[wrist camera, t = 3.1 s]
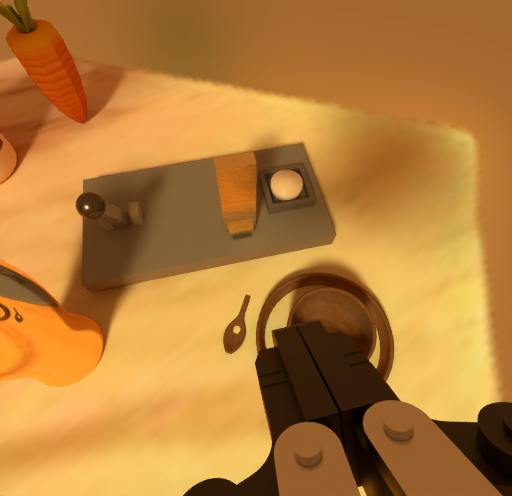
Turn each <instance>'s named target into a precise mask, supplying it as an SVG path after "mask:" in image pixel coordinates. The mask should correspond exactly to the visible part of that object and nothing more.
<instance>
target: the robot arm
mask: <svg viewBox="0 0 512 496" xmlns="http://www.w3.org/2000/svg"><path fill="white" fill-rule="evenodd" d="M272 338H273V343H274V347H273V348H269V349H265V350H260V351H259V353H258V356H257V359H256V362H255V366H256V370H257V375H258V380H259V385H260V390H261V395H262V400H263V404H264V409H265V413H266V418H267V422H268V426H269V430H270V435H271V439H272V447H271V451H270V454H269V456H268V458H267V460H266V461H265V463H264V464H263V465H262V467H261V468H260V469H259V470H258V471H256V472H255V473H254V474H253V475H251V476H250V477H248V478H247V479H245V480H244V481H242V482H241V483H239V484H238V485H236V484H235V483H233V482H231V481H229V480H227V479H223V478H212V479H207V480H204V481H202V482H200V483H198V484H196V485H194V486H193V487H192V488H191V489H189V490H188V491H187V492H186V493H185V494H184V495H183V496H361V495H360V493H359V490H358V487H360V486H363V488H364V491H365V493H366V495H367V496H512V403H508V402H497V403H492V404H489V405H486V406H485V407H483V408H482V409H481V410H480V412H479V414H478V422H448V421H438V420H433V419H430V418H429V417H428V416H427V415H426V414H425V413H424V412H423V411H421V410H420V409H419V408H417V407H415V406H413V405H411V404H408V403H405V402H402V401H400V400H399V398H398V397H397V396H396V394H395V393H394V392H393V391H392V389H391V388H390V387H389V385H388V384H387V383H386V381H385V380H384V379H383V378H382V376H381V375H380V374H379V372H378V371H377V370H376V368H375V367H374V366H373V365H372V363H370V362H369V359H368V358H367V357H366V355H365V354H364V353H362V350H361V349H360V348H359V346H358V345H357V344H356V342H355V341H354V340H353V339H352V338H350V337H348V336H347V335H345V334H343V333H341V332H340V331H339V332H335V333H331V334H328V332H327V331H326V329H325V328H324V326H323V325H322V323H321V322H320V320H314V321H310V322H305V323H301V324H297V325H296V326H295V325H293V326H289V327H285V328H280V329H276V330H272Z"/></svg>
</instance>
